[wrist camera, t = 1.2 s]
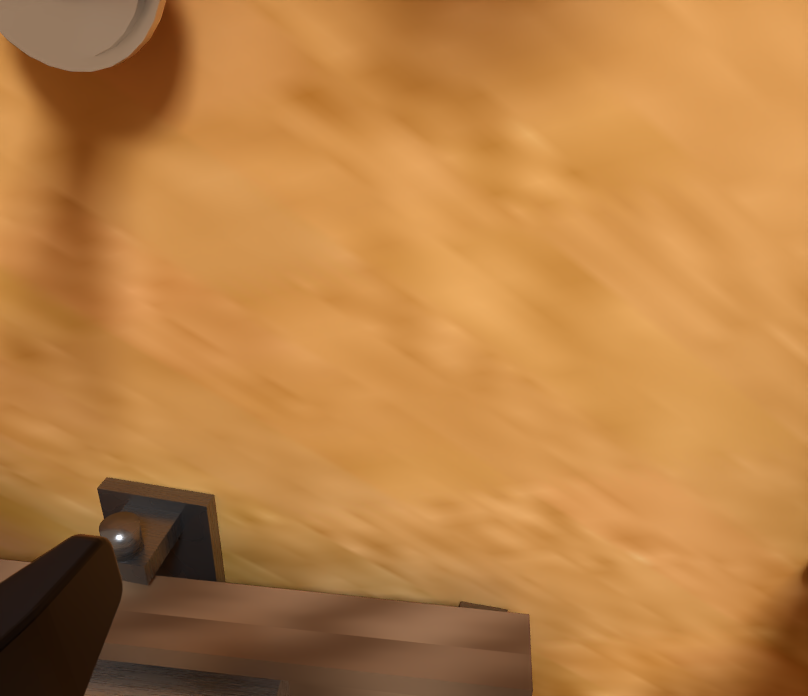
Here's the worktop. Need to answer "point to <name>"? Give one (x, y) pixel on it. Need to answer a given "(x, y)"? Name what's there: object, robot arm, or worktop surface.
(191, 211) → the worktop surface
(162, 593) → the wooden serving tray
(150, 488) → the pivot stand
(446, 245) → the worktop surface
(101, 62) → the screw
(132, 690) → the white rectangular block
